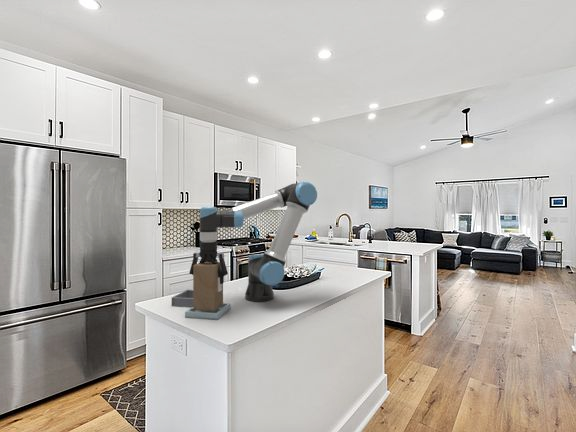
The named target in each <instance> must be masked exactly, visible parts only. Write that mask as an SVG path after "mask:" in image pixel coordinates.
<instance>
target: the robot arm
mask: <svg viewBox="0 0 576 432" xmlns="http://www.w3.org/2000/svg"><path fill="white" fill-rule="evenodd" d="M317 199H318V192H317V189H316V186H315V185H314V184H312V183H310V182H308V181H300V182H296V183H295V182H294V183H291V184H289V185H286V186H285V187H282V188H280V189H277V190H274V193H271V194H269V195H266V196H262V197H260V198H257V199H253V200H250V201H248V202H246V203H243V204H240V205H236V206H234V207H231V208H228V209H225V210H218V208H217V207H216V206H202V207H201V208H200V210H199V241H200V242H199V252H198V251H197V252H194V253H193V254H192V257H193V258H192V262H191V265H190V269H189V275H192V276H193V265H195V264H198V261H199V264H202V263H205V262H212V264H218V262H220V265H221V268H222V270H221V268H220V267H219V268H218V274H219V277H218V292H220V291H221V290H222V284H223V285H224V280H225V278H224V277H225V276H227V275H228V274H229V273H228V268H227V265H226V261H225V258H224V257H225V254H224V253H218V251H217V250H218V241H217V240H218V229H221V228H222V229H223V228H225V229H227V228H232V229H233V228H235V229H236V228H242V227H243V225H244V222H245V221H244V220H246V219H248V218H251V217H255V216H257V215H259V214H262V213H266V212H268V211H271V210H273V209H276V208H281V209H282V208H284V207H286V210H285V211H284V214H283V217H282V219H281V221H280V223H279V225H278V228H277V230H276V233H275V234H274V238H273V240H272V242H271V244H270V245H269V246H270V247H269V249H268V250H267V251H265V252H264V253H261V254H250V255H249V256H248V261H247V262H248V263H247V264H248V267H247V269H248V277H247V279H248V284H247V287H246V289H245V293H244V298H245V299H244V300H247V301H249V302H257V303H258V302H268V301H270V300H273V299H274V297H275V296H274V295H275V292H274V289H273V286H276V285H278V284H280V282H282V280H283V279H284V278H285V265H286V259H285V257H286V254H287V252H288V250H289V248H290V245H291V243H292V240H293V238H294V236H295V233H296V232H297V229H298V227H299V224H300V222H301V219H302V218H303V215H304V214H305V213H307V212H308V211H309V208H310V206H312V205H314V204H315V202H316V201H317ZM199 257H200V260H199ZM217 258H218V259H217Z"/></svg>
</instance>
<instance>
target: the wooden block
mask: <svg viewBox="0 0 576 432" xmlns="http://www.w3.org/2000/svg"><path fill="white" fill-rule="evenodd" d="M217 262H218V264H212V262H205V263H202V264H199V263H200V262H199V263H198V262H197V264H195V265H193V275H192V278H193V279H192V280H193V283H192V285H193V286H192V288H193V289H192V290H193V309H194V310H202V311H215V310H217V309H218V308H219V307H221V306H222V305H223V303H224V283H223V284H222V290H221V291H220V292H218V277H219V274H218V268H219V267H220V268H221V265H220V261H217ZM221 270H222V268H221Z"/></svg>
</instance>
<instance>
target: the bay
mask: <svg viewBox="0 0 576 432" xmlns="http://www.w3.org/2000/svg"><path fill="white" fill-rule="evenodd" d="M171 307H182V308H183V307H185V308H192V307H193V289H185V290H184V291H182V292H180V293H178V294H175V295H174V296H172V297H171Z"/></svg>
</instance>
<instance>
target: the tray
mask: <svg viewBox="0 0 576 432" xmlns="http://www.w3.org/2000/svg"><path fill="white" fill-rule="evenodd" d="M231 305H232V304H231V303H228V302H223V305H222V306H221V307H219V308H218V309H217V310H215V311H202V310H194V309H193V307H189V309H187V310H186V311H185V312H184V318H186V319H187V318H188V319H201V320H211V321H212V320H215V321H218V320H219V319H221V317H223V316H224V315H225V314H226V313H227V312H228V311H230V310H231V307H232V306H231Z"/></svg>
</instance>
